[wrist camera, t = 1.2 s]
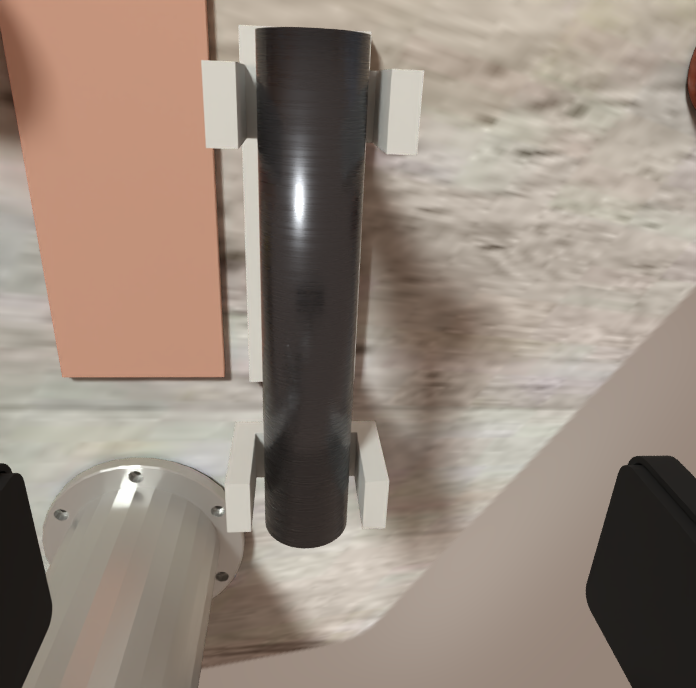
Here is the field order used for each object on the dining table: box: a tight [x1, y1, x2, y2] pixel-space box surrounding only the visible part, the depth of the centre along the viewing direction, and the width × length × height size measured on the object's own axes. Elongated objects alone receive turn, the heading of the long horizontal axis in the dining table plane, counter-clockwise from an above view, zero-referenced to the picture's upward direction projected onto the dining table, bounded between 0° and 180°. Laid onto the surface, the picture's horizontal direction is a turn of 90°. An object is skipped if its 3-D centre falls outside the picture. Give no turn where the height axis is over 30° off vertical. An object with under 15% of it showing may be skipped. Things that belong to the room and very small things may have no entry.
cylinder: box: [255, 27, 371, 548], centre depth 19 cm, size 16×3×3 cm, turn 178°
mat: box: [0, 0, 225, 377], centre depth 30 cm, size 20×9×1 cm, turn 178°
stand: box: [201, 25, 424, 532], centre depth 24 cm, size 18×6×16 cm, turn 178°
